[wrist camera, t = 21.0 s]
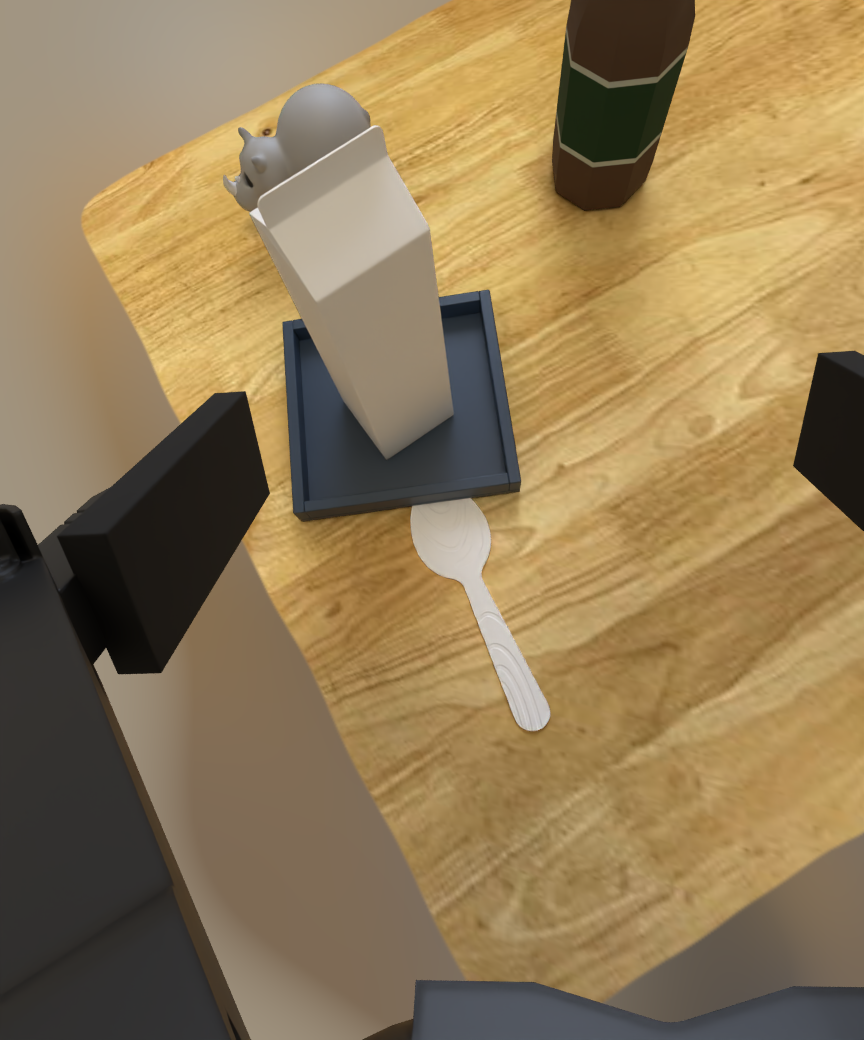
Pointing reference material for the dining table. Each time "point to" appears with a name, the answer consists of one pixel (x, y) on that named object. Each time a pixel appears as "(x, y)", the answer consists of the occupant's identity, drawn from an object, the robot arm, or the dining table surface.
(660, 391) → the dining table surface
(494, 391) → the tray
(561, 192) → the beer bottle
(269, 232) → the milk
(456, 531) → the spoon
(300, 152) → the toy rhinoceros
